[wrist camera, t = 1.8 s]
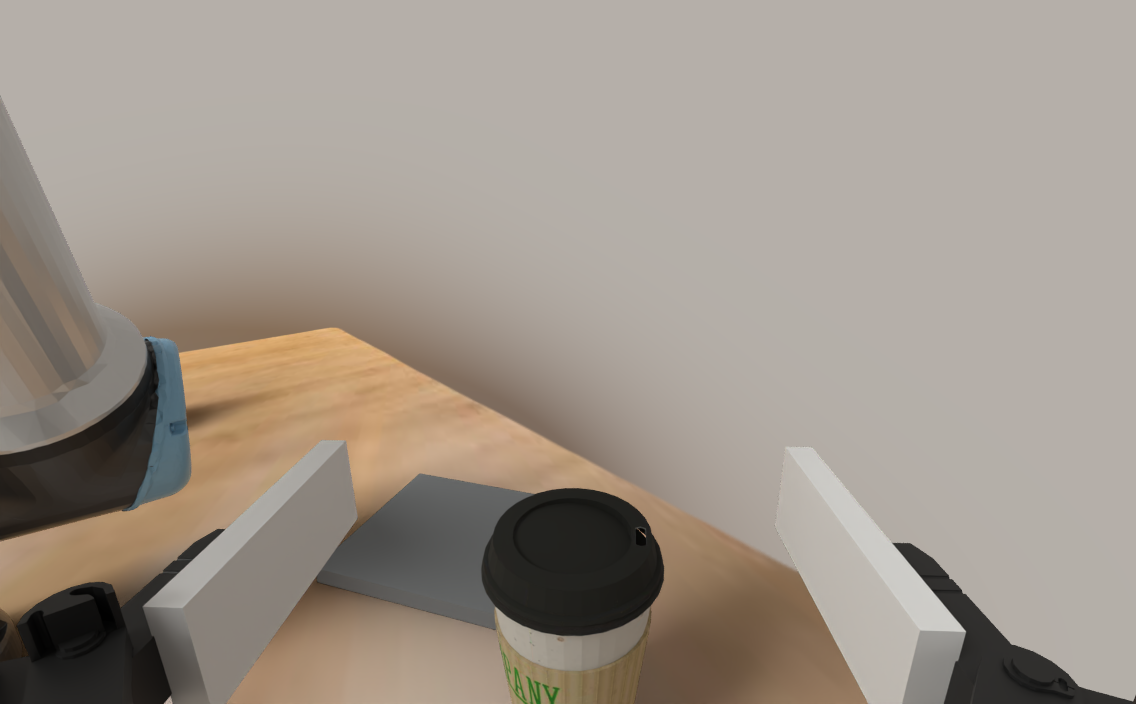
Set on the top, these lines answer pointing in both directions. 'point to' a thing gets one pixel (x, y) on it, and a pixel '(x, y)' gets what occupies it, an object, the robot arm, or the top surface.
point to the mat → (426, 548)
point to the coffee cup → (572, 596)
